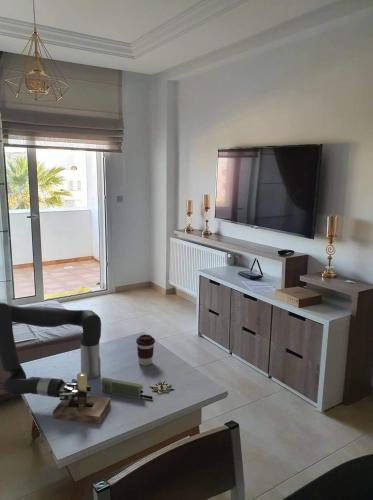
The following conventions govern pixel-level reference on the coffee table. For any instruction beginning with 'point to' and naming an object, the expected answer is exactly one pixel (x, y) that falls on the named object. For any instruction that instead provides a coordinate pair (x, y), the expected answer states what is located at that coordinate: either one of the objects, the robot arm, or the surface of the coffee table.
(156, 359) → the coffee table surface
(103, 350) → the coffee table surface
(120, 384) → the handheld radio
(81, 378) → the brass peg
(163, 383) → the lily flower
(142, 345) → the coffee cup
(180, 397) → the coffee table surface
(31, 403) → the coffee table surface
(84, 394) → the robot arm
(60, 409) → the keyhole plate
